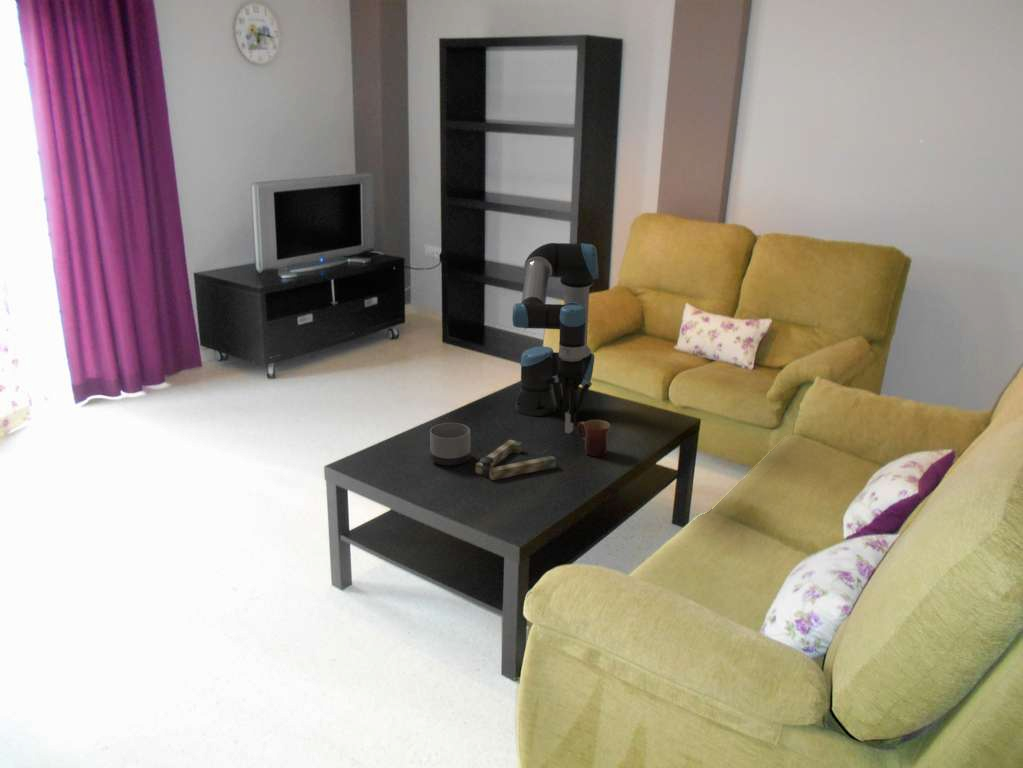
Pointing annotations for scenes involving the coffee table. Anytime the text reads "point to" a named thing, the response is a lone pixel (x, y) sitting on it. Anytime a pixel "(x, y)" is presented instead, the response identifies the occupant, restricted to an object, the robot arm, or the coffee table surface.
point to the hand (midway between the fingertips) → (568, 431)
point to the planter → (450, 443)
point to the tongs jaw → (522, 467)
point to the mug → (595, 436)
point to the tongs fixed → (497, 456)
